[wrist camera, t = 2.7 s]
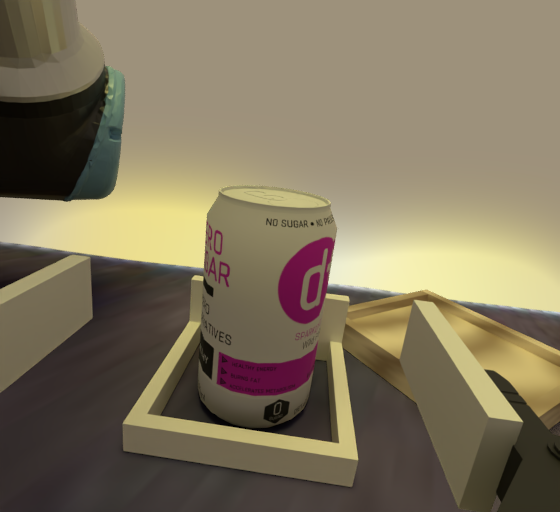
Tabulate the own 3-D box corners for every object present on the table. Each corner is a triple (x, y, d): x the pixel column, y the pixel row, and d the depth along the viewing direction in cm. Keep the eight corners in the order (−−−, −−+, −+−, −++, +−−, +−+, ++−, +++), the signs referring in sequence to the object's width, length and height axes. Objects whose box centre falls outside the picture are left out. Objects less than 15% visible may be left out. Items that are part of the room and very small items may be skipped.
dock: (123, 450, 22) (121, 363, 20) (192, 335, 35) (194, 275, 33) (352, 487, 22) (371, 401, 20) (337, 356, 35) (348, 296, 33)
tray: (323, 332, 38) (327, 310, 38) (421, 307, 47) (426, 289, 46) (500, 466, 24) (512, 435, 24) (593, 395, 33) (603, 371, 32)
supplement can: (328, 395, 29) (363, 203, 25) (255, 457, 23) (284, 216, 18) (251, 350, 34) (269, 182, 29) (174, 391, 28) (180, 186, 23)
